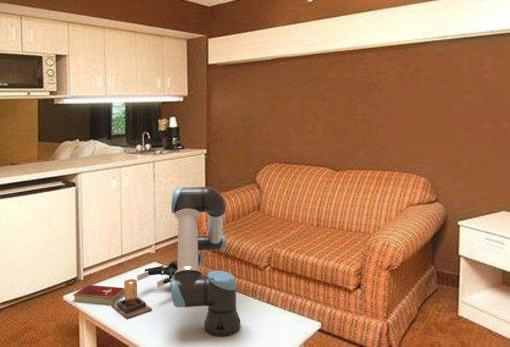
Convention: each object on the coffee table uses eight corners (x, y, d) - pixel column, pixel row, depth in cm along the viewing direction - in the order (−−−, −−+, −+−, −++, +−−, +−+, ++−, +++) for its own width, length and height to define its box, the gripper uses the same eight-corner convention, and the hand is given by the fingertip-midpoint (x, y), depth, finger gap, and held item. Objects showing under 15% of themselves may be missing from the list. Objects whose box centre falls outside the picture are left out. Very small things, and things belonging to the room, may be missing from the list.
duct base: (151, 310, 193) (151, 304, 192) (126, 319, 185) (126, 312, 185) (135, 298, 205) (135, 292, 204) (111, 306, 197) (111, 300, 197)
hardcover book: (88, 291, 214) (87, 283, 213) (126, 295, 210) (126, 287, 209) (73, 302, 202) (72, 293, 202) (113, 306, 198) (113, 297, 198)
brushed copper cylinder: (140, 306, 195) (138, 281, 193) (128, 310, 191) (127, 285, 189) (134, 302, 199) (133, 278, 197) (123, 306, 195) (122, 281, 193)
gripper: (197, 279, 213) (166, 294, 196) (161, 269, 227) (130, 282, 209) (197, 265, 212) (166, 279, 195) (161, 255, 226) (129, 268, 208)
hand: (147, 281), depth 202 cm, fingers open, 13 cm apart
